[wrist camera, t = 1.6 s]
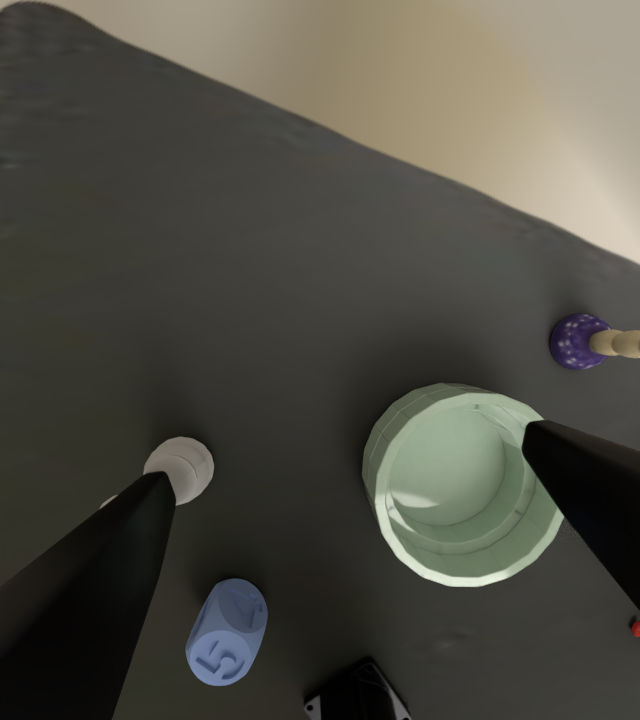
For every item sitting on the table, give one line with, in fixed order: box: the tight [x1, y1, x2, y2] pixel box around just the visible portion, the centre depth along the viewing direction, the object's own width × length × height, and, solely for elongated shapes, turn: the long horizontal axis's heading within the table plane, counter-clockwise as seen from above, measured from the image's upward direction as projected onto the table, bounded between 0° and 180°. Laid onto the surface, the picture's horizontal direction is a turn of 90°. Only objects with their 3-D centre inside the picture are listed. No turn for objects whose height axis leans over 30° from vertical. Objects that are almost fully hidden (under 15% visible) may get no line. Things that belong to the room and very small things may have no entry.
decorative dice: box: [185, 579, 268, 686], centre depth 21 cm, size 4×4×4 cm
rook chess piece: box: [100, 437, 214, 509], centre depth 18 cm, size 4×4×8 cm
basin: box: [362, 383, 564, 587], centre depth 21 cm, size 12×12×4 cm
